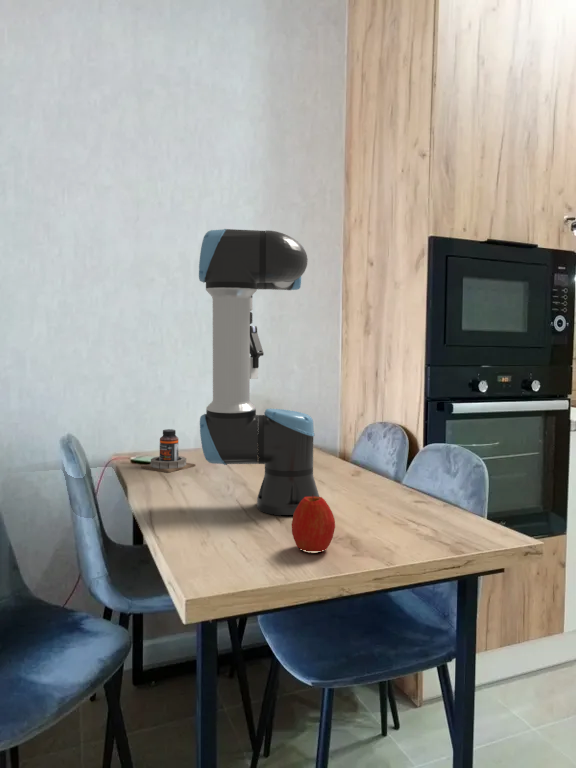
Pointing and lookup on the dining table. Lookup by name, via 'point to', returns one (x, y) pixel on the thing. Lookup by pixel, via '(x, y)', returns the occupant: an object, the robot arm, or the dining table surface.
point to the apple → (313, 524)
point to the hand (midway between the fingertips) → (240, 378)
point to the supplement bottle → (169, 446)
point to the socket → (168, 465)
